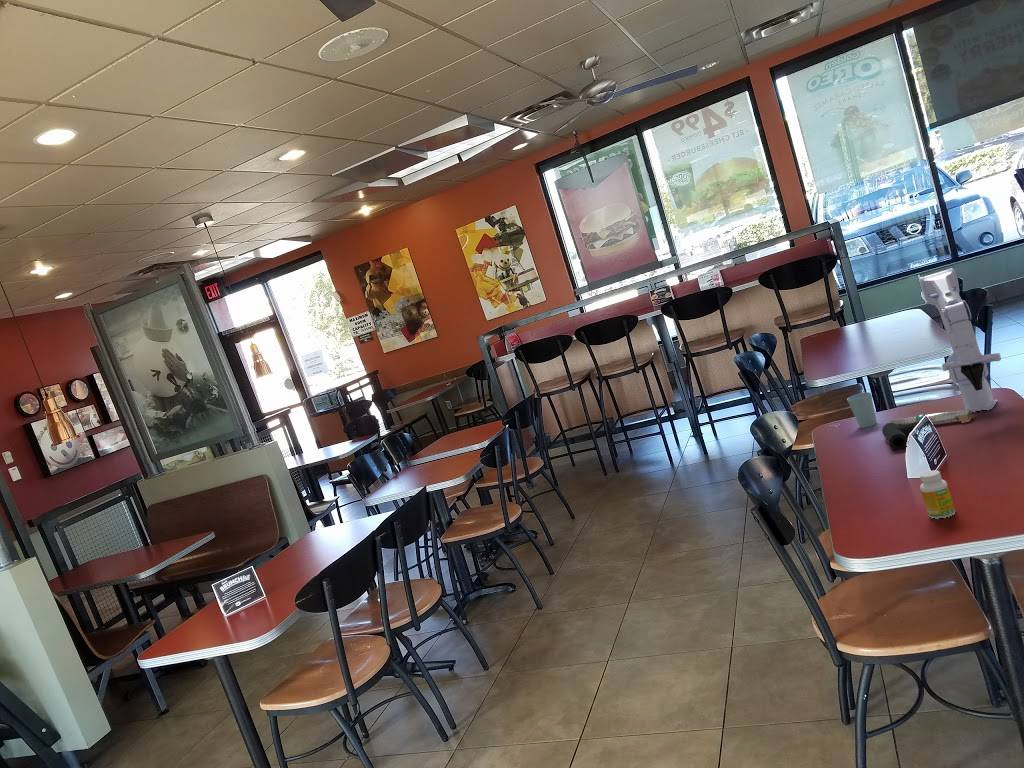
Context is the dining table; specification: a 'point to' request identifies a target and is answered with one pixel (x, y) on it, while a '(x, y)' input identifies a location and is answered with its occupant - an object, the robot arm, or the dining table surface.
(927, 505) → the supplement bottle
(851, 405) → the cup
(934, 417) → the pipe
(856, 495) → the dining table surface
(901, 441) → the pipe connector
